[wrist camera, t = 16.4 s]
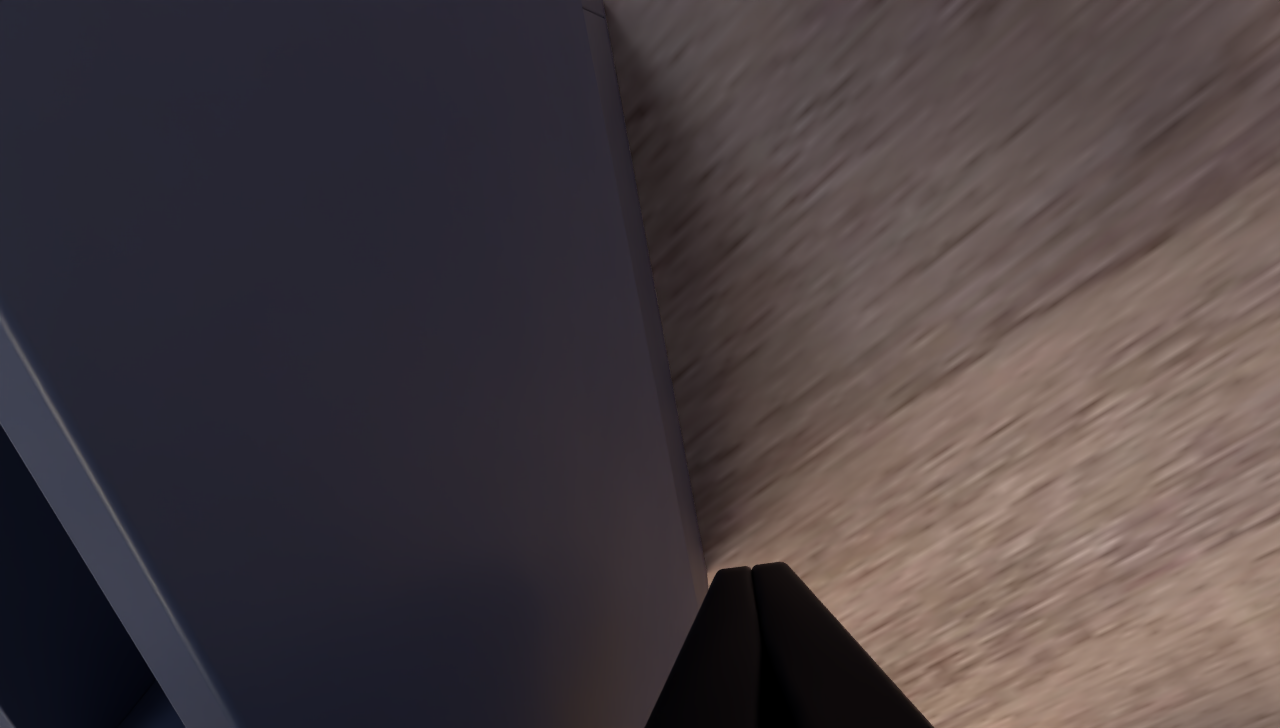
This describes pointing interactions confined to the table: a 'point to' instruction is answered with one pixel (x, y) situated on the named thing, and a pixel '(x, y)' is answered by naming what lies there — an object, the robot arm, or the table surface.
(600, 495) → the flap
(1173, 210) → the table surface
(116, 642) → the carton
